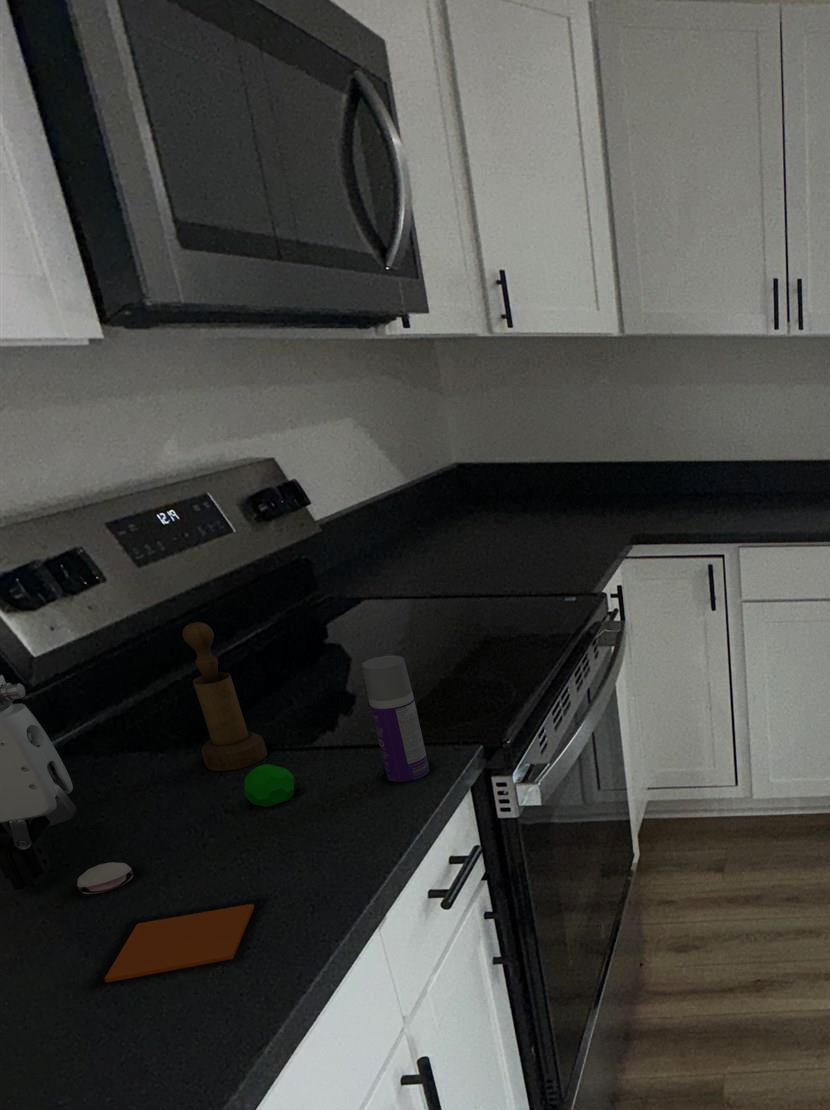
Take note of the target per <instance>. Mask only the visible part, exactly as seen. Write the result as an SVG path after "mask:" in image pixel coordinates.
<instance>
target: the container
mask: <svg viewBox="0 0 830 1110" xmlns="http://www.w3.org/2000/svg"><path fill="white" fill-rule="evenodd" d="M361 670H362V674H363V680H364V684H365V689H366V693H367V694H366V695H367V698H368V702H369V708H370V711H371V715H372V720H373V723H374V729H375V733H376V736H377V740H378V745H379V749H380V754H381V757H382V762H383V765H384V770H385V774H386V779H388V780H389V781H391V782H397V783H403V782H410V781H414V780H418V779H420V778H423V777H425V776H426V775H427V774H428V773H429V771H430V766H429V761H428V756H427V753H426V747H425V743H424V738H423V733H422V729H421V725H420V720H419V714H418V711H417V706H416V702H415V701H416V700H415V697H414V693H413V689H412V685H411V681H410V677H409V674H408V669H407V665H406V662H405V658H404V657H403V656H400V655H382V656H376V657H372V658H369V659H367V660H365V661H363V662H362V663H361Z"/></svg>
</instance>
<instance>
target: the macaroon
mask: <svg viewBox="0 0 830 1110" xmlns="http://www.w3.org/2000/svg"><path fill="white" fill-rule="evenodd" d="M127 874H129V875H131V876H130V878H128V880H127ZM133 877H134V871H133V870H132V866H129V865H128V864H127V863H125V862H115V861H114V862H106V863H101V864H98V865H95V866H93V867H91V868H88V869H87V870H85V872H84V873H82V874H81V875H79V877H78V878H77V883H76V886H77V889H78V890H79V891H80V893H82V894H86V895H95V894H101V893H104V892H108V891H112V890H114V889H116V888H119V887H121V886H123V885H125V884H127V883H128V882H130V881H131V880H132V878H133ZM83 888H85V889H87V890H88V891H89V892H85V891H83Z"/></svg>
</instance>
